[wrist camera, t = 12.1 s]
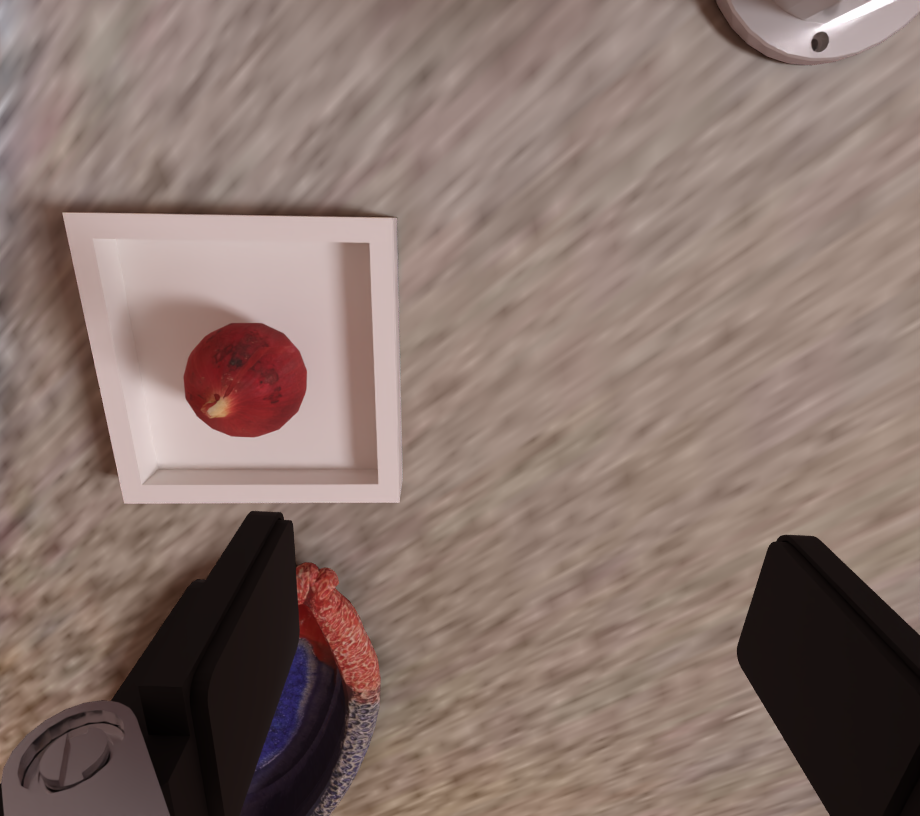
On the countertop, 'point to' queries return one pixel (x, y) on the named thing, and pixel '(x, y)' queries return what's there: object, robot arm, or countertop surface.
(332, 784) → the dish
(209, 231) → the tray
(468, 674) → the countertop surface
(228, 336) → the onion
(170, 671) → the robot arm
